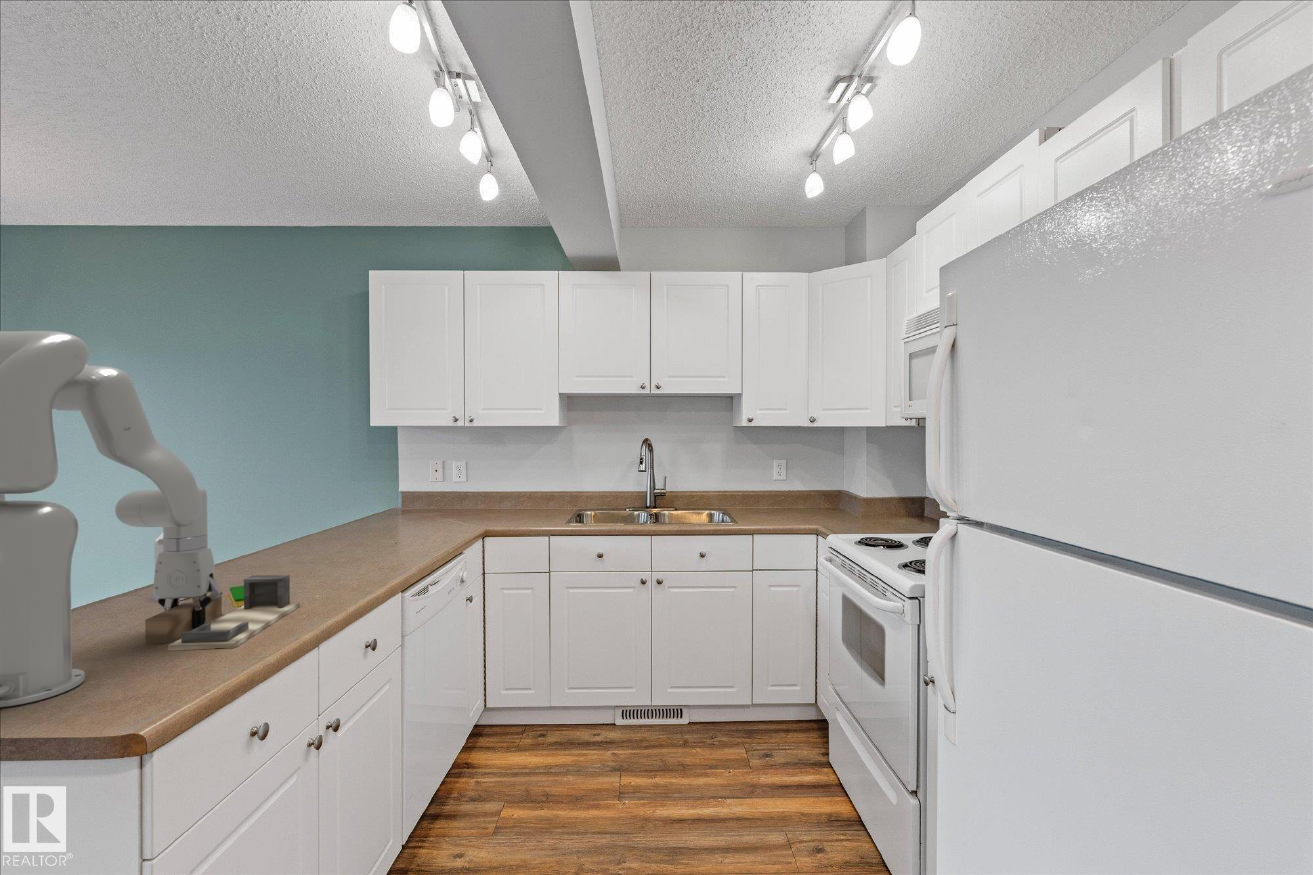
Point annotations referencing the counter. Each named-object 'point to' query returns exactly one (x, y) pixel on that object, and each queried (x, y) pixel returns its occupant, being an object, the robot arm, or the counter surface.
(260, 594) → the end cap board
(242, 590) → the dish sponge
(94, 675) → the counter surface
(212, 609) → the walnut slat
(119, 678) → the counter surface
